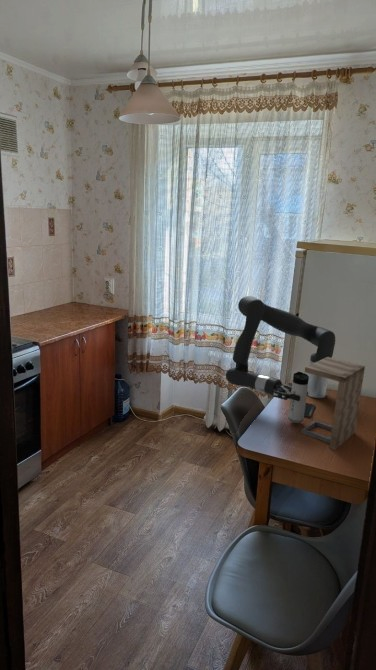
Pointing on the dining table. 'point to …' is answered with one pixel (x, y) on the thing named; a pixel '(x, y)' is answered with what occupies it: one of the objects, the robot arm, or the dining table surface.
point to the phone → (309, 410)
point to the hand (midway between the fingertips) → (303, 396)
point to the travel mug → (300, 389)
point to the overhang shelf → (342, 395)
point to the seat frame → (315, 435)
